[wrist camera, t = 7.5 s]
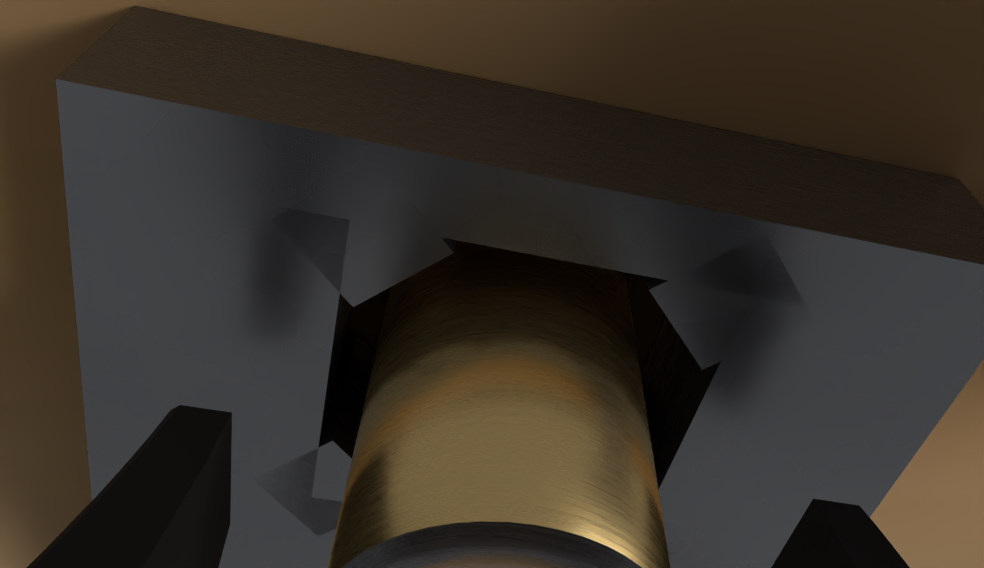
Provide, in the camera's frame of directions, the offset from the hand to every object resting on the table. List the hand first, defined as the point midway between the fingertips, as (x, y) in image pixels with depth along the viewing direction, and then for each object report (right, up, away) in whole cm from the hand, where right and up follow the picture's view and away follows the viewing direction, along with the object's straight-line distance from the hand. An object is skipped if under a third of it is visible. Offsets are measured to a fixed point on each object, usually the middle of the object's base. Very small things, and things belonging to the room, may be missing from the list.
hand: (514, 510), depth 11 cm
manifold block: (-1, 0, +5) cm, 6 cm away
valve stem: (0, +2, +4) cm, 4 cm away
